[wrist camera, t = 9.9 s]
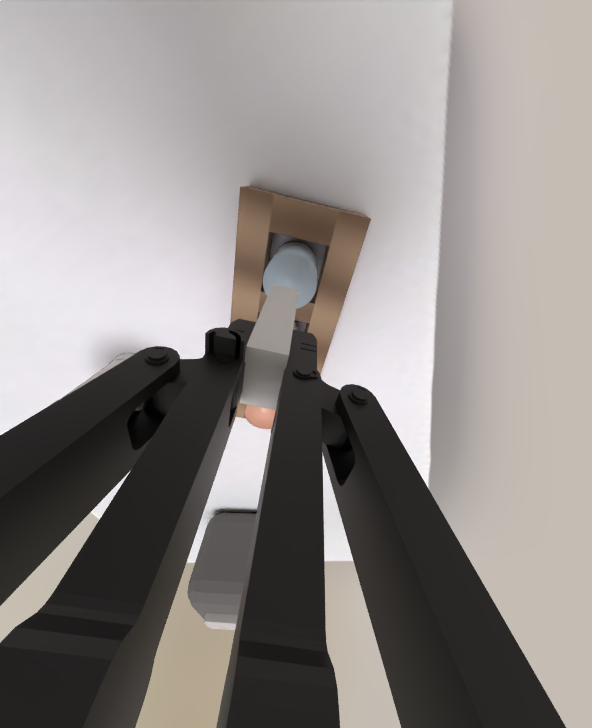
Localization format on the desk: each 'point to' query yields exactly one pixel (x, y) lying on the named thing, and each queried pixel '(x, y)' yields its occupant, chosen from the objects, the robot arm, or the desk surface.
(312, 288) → the light blue rounded cylinder
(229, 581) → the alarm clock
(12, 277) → the desk surface
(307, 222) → the wooden peg holder
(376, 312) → the desk surface
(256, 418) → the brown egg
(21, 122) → the desk surface
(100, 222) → the desk surface
